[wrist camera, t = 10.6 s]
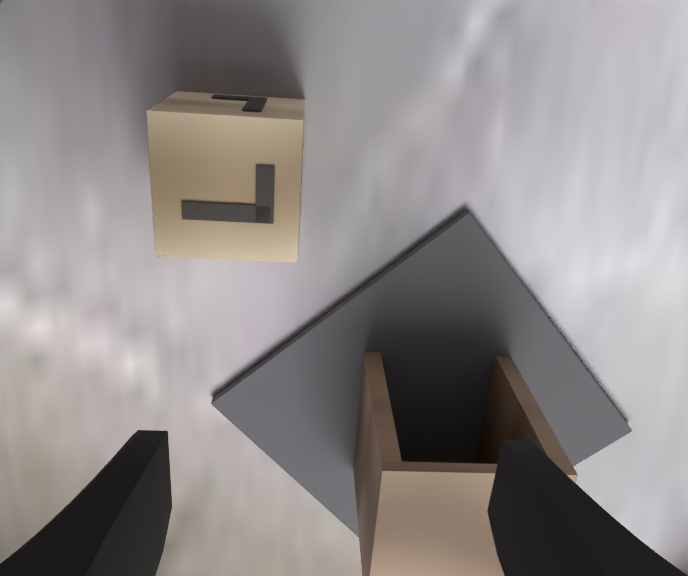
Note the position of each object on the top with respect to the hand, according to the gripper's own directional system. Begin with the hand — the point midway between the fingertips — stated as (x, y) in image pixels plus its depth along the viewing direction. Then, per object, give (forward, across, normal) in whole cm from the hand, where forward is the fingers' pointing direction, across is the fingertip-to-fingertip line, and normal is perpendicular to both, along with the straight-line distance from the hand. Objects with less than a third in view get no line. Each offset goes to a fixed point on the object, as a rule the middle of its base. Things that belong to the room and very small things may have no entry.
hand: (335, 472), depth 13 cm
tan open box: (+10, -4, +5) cm, 12 cm away
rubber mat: (+10, -4, +5) cm, 12 cm away
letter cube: (+10, +3, -4) cm, 11 cm away
